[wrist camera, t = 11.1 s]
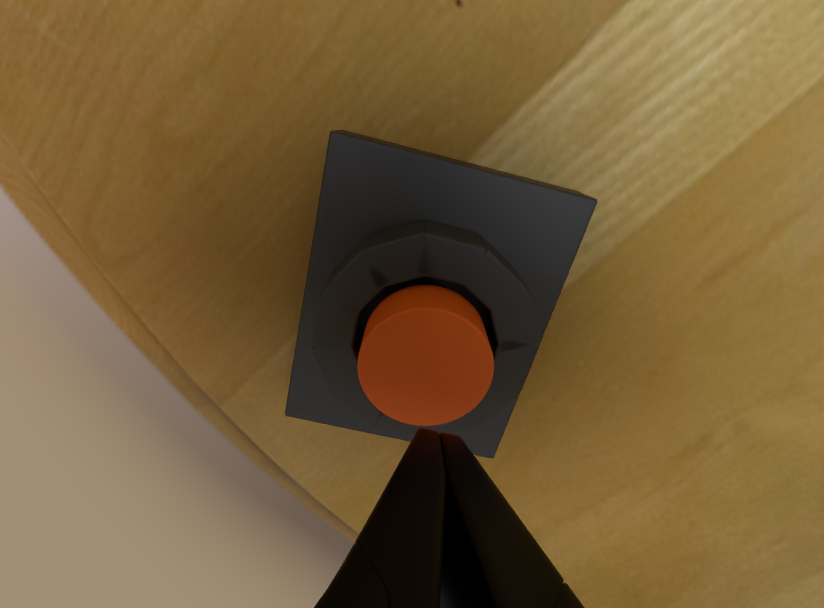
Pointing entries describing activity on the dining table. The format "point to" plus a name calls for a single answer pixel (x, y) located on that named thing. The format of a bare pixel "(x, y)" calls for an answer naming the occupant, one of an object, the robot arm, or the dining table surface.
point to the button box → (428, 273)
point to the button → (425, 356)
